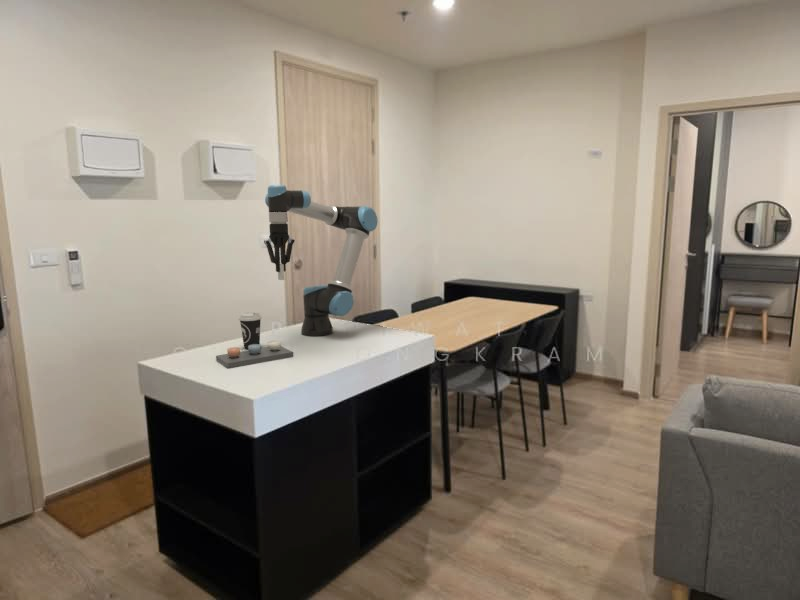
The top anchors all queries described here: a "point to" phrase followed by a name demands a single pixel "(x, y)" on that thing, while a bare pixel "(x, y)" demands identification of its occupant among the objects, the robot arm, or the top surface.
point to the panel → (253, 357)
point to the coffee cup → (250, 328)
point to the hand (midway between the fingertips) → (281, 279)
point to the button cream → (274, 345)
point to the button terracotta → (233, 352)
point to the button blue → (254, 349)
